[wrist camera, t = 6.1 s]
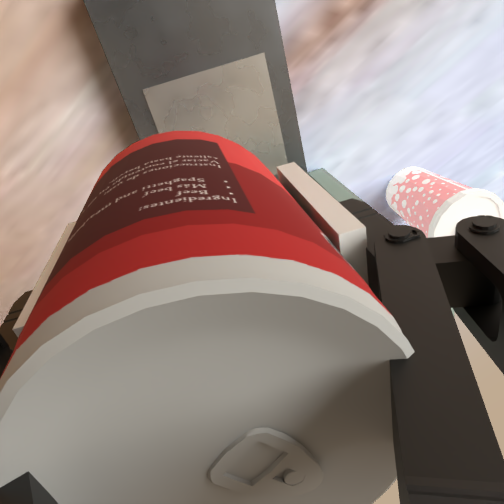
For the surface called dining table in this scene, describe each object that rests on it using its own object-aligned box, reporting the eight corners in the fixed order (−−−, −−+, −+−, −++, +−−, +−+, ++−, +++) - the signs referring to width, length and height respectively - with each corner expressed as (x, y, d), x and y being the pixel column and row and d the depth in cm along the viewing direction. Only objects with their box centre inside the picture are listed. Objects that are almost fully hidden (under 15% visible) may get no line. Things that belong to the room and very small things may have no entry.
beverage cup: (372, 219, 39) (466, 301, 27) (384, 159, 36) (496, 220, 24) (427, 216, 40) (540, 294, 28) (443, 157, 37) (577, 215, 25)
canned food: (240, 315, 19) (315, 581, 10) (68, 269, 16) (-64, 584, 7) (314, 172, 17) (520, 348, 7) (124, 88, 14) (35, 193, 4)
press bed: (83, -10, 26) (77, -13, 24) (255, -60, 26) (262, -67, 25) (184, 243, 36) (186, 254, 34) (307, 203, 37) (315, 212, 35)
